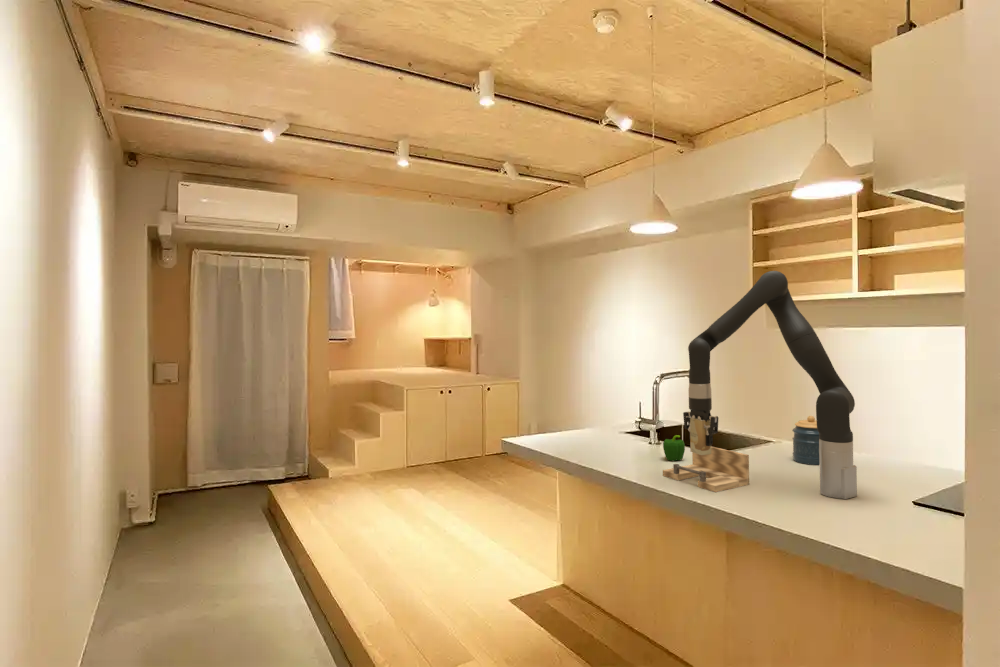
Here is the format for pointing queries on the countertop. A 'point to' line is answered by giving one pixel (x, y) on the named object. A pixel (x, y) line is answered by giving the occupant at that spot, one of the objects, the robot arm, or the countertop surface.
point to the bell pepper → (674, 448)
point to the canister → (806, 442)
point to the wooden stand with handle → (714, 470)
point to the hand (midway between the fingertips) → (700, 443)
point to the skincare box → (699, 437)
